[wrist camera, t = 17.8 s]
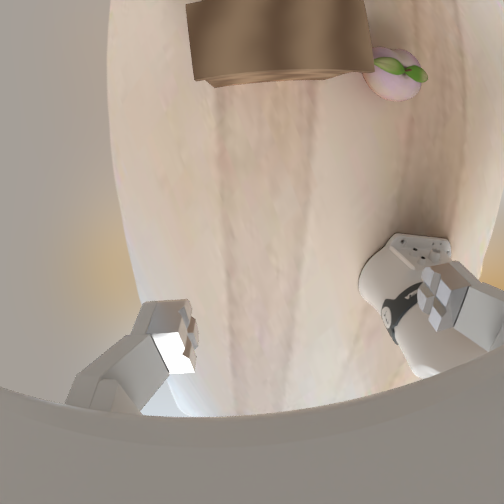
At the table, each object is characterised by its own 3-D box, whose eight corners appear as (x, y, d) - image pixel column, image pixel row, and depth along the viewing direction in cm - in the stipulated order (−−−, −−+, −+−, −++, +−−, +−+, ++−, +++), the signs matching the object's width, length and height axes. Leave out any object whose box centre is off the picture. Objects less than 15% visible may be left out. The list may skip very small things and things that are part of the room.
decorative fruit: (354, 100, 36) (384, 100, 28) (346, 51, 32) (375, 38, 24) (404, 101, 36) (441, 104, 27) (398, 55, 32) (434, 48, 23)
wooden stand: (308, -33, 25) (338, -83, 11) (327, 82, 35) (374, 72, 21) (197, -27, 25) (179, -80, 11) (212, 91, 35) (194, 80, 21)
